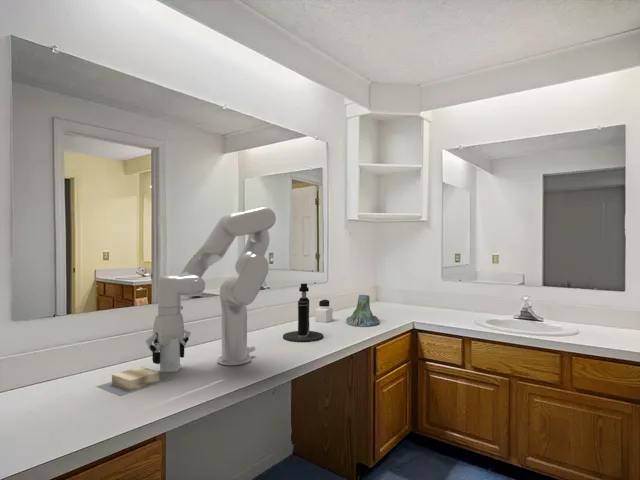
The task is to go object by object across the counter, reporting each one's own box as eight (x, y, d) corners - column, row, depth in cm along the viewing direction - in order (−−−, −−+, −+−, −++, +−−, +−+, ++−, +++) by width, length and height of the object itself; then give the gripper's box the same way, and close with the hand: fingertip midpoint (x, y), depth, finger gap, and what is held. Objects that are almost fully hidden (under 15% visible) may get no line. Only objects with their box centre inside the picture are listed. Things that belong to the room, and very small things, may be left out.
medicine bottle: (332, 320, 234) (332, 299, 234) (326, 322, 228) (326, 301, 228) (322, 319, 238) (321, 298, 238) (315, 321, 232) (315, 300, 232)
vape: (325, 333, 203) (324, 282, 203) (321, 342, 184) (321, 287, 184) (286, 332, 205) (286, 282, 205) (279, 341, 186) (279, 286, 186)
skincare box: (180, 369, 147) (180, 335, 147) (177, 373, 142) (177, 338, 142) (162, 370, 146) (162, 336, 146) (159, 374, 142) (158, 339, 142)
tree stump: (340, 326, 221) (341, 293, 225) (352, 328, 239) (352, 297, 243) (373, 327, 214) (373, 292, 218) (383, 329, 232) (383, 297, 236)
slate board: (148, 373, 143) (148, 371, 143) (173, 381, 135) (173, 378, 135) (95, 389, 128) (95, 386, 128) (120, 398, 120) (120, 396, 120)
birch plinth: (141, 375, 139) (141, 366, 139) (159, 381, 133) (159, 371, 133) (112, 383, 130) (112, 374, 130) (129, 390, 125) (129, 380, 125)
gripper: (183, 306, 153) (182, 353, 153) (140, 313, 139) (139, 364, 139) (196, 309, 149) (195, 356, 149) (153, 315, 135) (152, 368, 135)
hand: (168, 360), depth 144 cm, fingers open, 9 cm apart
